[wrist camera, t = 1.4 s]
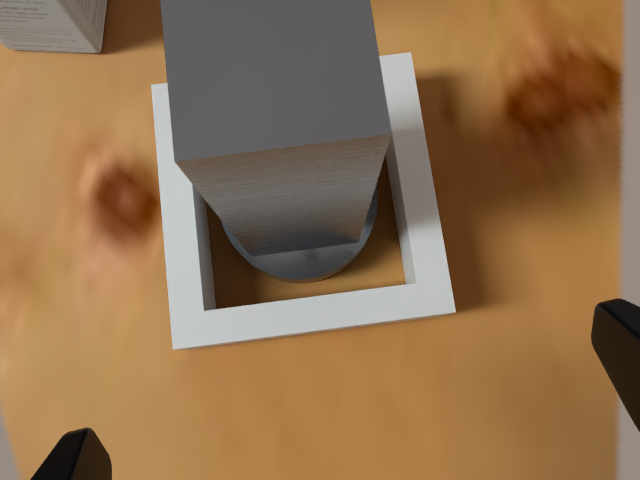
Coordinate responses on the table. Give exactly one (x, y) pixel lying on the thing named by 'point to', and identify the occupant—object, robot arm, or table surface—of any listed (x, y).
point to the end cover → (280, 125)
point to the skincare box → (53, 25)
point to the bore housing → (319, 311)
